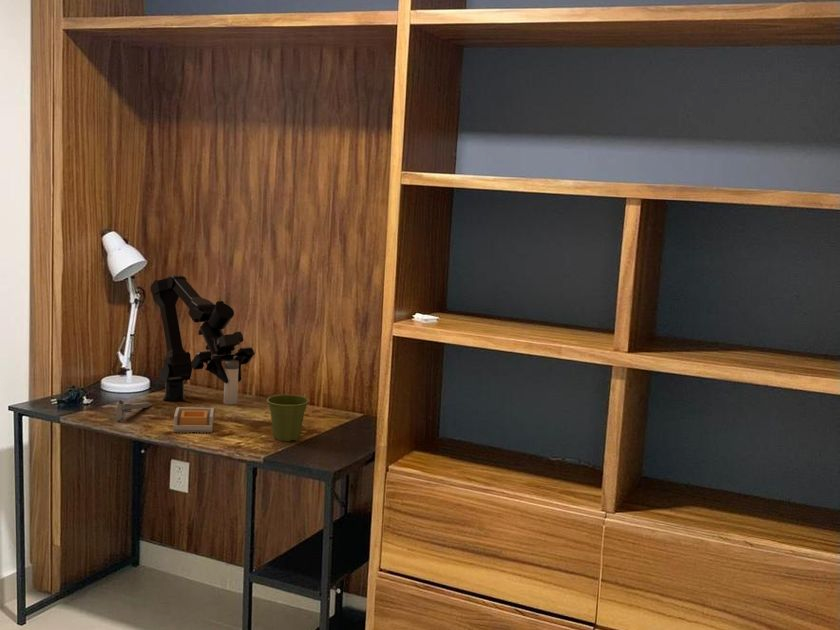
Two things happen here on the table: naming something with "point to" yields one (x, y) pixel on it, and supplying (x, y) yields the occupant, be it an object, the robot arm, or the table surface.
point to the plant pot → (287, 415)
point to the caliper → (128, 408)
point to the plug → (231, 382)
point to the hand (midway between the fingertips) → (233, 381)
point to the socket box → (193, 420)
